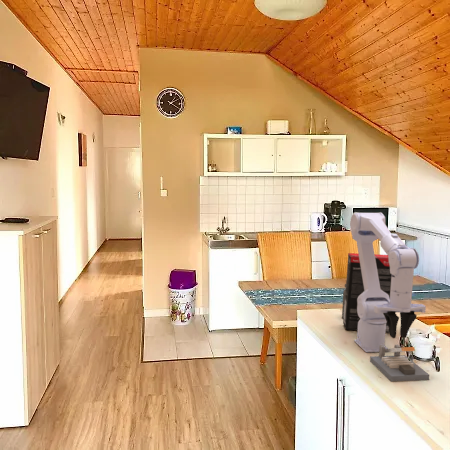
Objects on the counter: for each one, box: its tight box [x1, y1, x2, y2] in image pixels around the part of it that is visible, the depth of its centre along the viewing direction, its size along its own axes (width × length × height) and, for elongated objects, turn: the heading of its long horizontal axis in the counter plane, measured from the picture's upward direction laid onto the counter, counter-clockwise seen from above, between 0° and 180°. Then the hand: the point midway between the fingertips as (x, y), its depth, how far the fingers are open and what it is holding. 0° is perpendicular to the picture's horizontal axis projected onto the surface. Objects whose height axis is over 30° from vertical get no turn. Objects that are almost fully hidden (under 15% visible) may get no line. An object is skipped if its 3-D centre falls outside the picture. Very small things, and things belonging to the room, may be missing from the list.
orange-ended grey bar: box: [385, 346, 416, 354], centre depth 131 cm, size 12×3×1 cm, turn 8°
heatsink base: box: [369, 344, 430, 383], centre depth 131 cm, size 13×11×5 cm
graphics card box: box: [342, 252, 392, 334], centre depth 162 cm, size 17×7×27 cm, turn 84°
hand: (397, 336), depth 132 cm, fingers open, 3 cm apart
